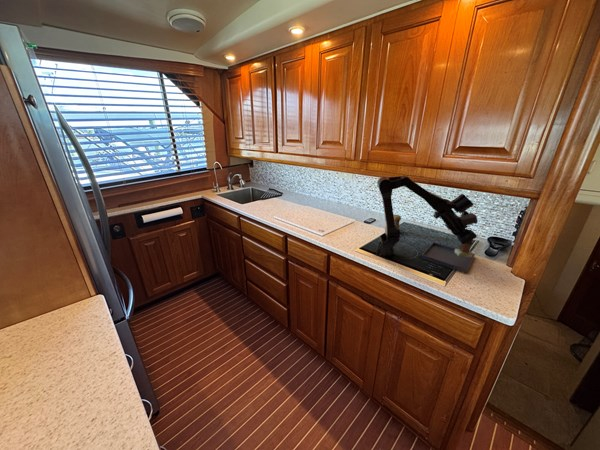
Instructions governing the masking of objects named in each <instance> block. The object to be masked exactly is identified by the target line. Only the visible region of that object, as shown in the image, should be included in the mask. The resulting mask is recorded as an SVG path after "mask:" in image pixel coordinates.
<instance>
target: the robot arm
mask: <svg viewBox="0 0 600 450" xmlns="http://www.w3.org/2000/svg"><path fill="white" fill-rule="evenodd" d="M376 185H377V188H378V191H379V194H380V196H381V200H382V208H383V213H384V221H385V227H384V233H382V234H381V235H379V240H380V241H379V242H378V247H377V252H376V253H375V255H376V256H378V257H381V258H384V259H386V260H389V259H390V258H392V257H393V256H394V251H395V248H394V247H395V246H396V245H397V244H398V243H399V242H400V239H401V238H402V236H401V234H400V233H401V229H400V226H399V227H398V225H395V223H394V215H395V214H394V209H393V208H394V207H393V201H392V200H393V199H392V196H393V190H397V189H399V188H402V187H405V188H407V189H408V190H410V191H411V192H413V193H414V194H416V195H417V196H418V197H420V198H421V199H423V200H424V201H425V202H426V203H427V204H428V205H429V206H430V207H431V209H433V210H434V212H433V218H434V219H436V220H437V219H439V218H440V219H441V220H442V221H443V223H444V225H445V227H446V229H448V231H450V232H451V233H452V235H454V236H456V239H457V240H458V241H459V242H460V244H461V243H462V244H466V243H467V244H469V245H471V244H472V245H473V242H472V240H473V241H474V239H477V237H478V235H477V234H476V233H475V232H474V231H473V230H472V229H468V226H470V225H473V224H477V223H478V216H477V215H476V214H475V213H474V212H469V211H467V210H469V209H470V208H472V207H473V206H474V203H473V201H472V200H470V199H469V198H468V197H467V196H466V195H465V194H464V193H461V194H459V195H458V196H457V197H455V198H454V199H452V200H450V199H448V198H447V199H446V198H443V197H442V196H440V195H438V194H435V193H433V192H431V191H428V190H427V189H425V188H424V187H422V186H421V185H420V184H418V183H416V182H415V181H414V180H412V179H411V178H410V177H409V176H408V175H405V174H403V175H400V176H399V175H397V176H389V177H387V176H381V177H379V178H378V180H377V182H376ZM456 213H457V214H458V213H459V214H460V216H458V215H457V214H456ZM472 245H471V246H472Z"/></svg>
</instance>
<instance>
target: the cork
mask: <svg viewBox="0 0 600 450" xmlns="http://www.w3.org/2000/svg"><path fill="white" fill-rule="evenodd" d="M393 215H394V223H395V225H398V227H399V228H400V222H401V220H402V217H401V215H399V214H393Z"/></svg>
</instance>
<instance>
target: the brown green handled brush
mask: <svg viewBox="0 0 600 450" xmlns="http://www.w3.org/2000/svg"><path fill="white" fill-rule="evenodd" d="M473 241H474V239H473V240H472V243H473ZM472 245H473V244H471V245H469V244H467V243H466V244H462V243H461V242H460V246H459V248H456V249H455V251H454V253H455V254H456V255H457V256H459V257H472V255H473V254H474V253H473V252H472V251H471V248H472Z"/></svg>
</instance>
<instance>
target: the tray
mask: <svg viewBox="0 0 600 450" xmlns="http://www.w3.org/2000/svg"><path fill="white" fill-rule="evenodd" d="M455 249H457V248H456V247H454V246H453V247H452V246H449V245H446V244H442V243H438V242H436V241H432V242H431V243H430V245H428V247H427V248H425V250H424V251H423V252H422V253H421V255H420V259H422V260H426V261H428V262H431V263H434V264H437V265H440V266H443V267H445V268H448V269H451V270H454V271H457V272H460V273H462V274H467V272H468V270H469V268H470V266H471V264H472V262H473V260H474V259H475V256H476V254H475V253H473V255H472V257H459V256H457V255H456V254H455V253H454V251H455ZM454 267H455V268H454Z"/></svg>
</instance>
